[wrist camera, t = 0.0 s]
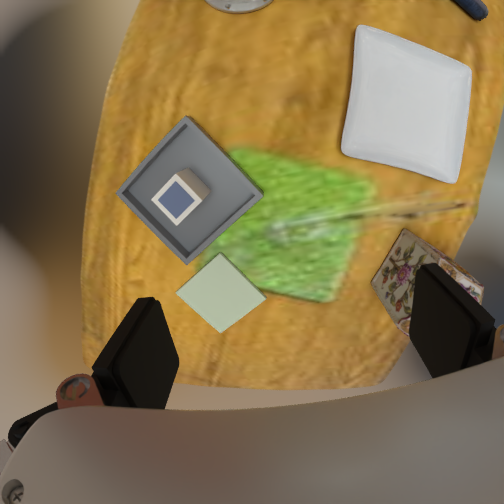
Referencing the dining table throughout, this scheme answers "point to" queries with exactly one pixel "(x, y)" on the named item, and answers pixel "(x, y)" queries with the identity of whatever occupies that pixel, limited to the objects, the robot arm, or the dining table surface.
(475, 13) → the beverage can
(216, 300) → the mat
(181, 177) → the labelled box
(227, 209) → the bin
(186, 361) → the dining table surface
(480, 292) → the decorative jar
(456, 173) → the salad plate
